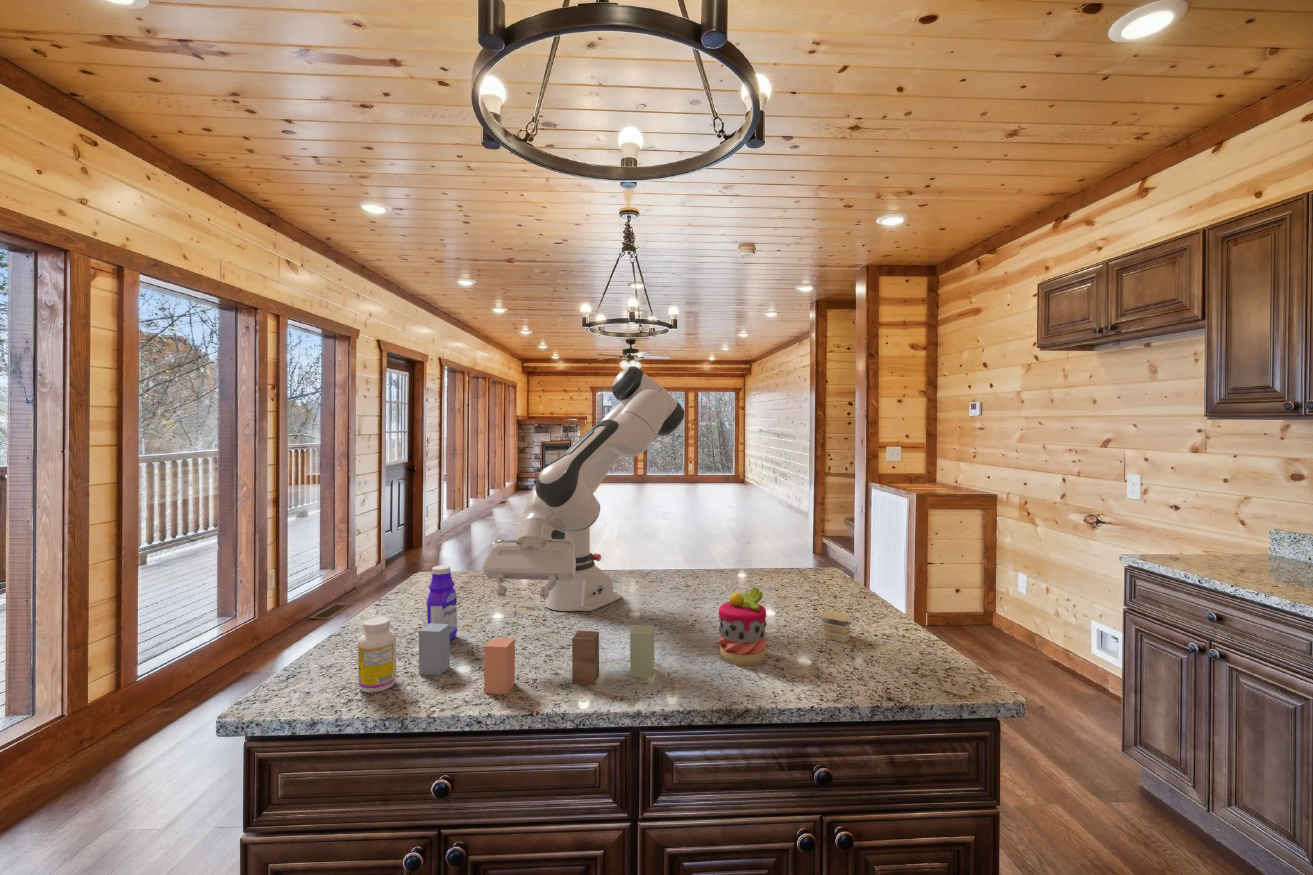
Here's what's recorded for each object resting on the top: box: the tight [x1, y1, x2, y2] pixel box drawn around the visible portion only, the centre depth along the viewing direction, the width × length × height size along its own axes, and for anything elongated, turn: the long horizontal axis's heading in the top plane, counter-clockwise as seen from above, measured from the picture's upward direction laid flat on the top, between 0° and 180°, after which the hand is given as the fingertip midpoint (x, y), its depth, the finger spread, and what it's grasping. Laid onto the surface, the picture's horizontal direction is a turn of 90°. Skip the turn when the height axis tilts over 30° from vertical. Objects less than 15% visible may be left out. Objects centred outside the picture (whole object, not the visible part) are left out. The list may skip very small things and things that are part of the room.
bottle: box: [426, 564, 458, 641], centre depth 137 cm, size 7×6×17 cm
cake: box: [717, 586, 768, 667], centre depth 127 cm, size 10×11×15 cm
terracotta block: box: [483, 637, 516, 695], centre depth 112 cm, size 4×4×9 cm
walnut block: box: [571, 630, 600, 686], centre depth 116 cm, size 4×4×9 cm
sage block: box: [629, 625, 655, 679], centre depth 119 cm, size 4×4×9 cm
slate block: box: [418, 623, 451, 677], centre depth 120 cm, size 4×4×9 cm
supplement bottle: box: [357, 616, 397, 694], centre depth 113 cm, size 7×7×13 cm
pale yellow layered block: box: [820, 610, 853, 644], centre depth 139 cm, size 10×9×6 cm
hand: (522, 595), depth 123 cm, fingers open, 8 cm apart
